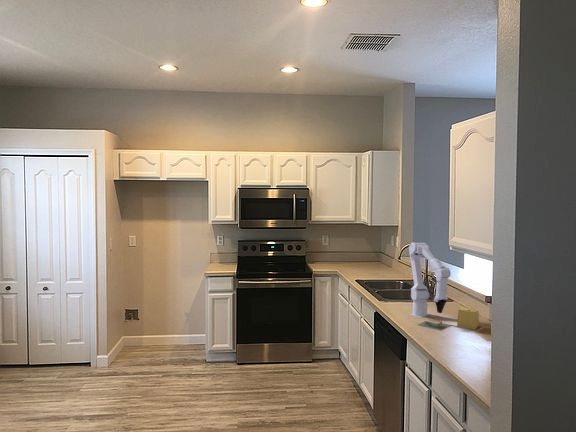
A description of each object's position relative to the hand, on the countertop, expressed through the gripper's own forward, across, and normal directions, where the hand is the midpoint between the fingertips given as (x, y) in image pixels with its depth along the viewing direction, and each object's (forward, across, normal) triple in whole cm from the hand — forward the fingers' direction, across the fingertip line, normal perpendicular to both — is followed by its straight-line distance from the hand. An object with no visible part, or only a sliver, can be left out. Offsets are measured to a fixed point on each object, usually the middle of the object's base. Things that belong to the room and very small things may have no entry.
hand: (439, 312), depth 271 cm
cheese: (+7, +8, -13) cm, 17 cm away
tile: (+5, -4, 0) cm, 7 cm away
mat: (+6, -6, 0) cm, 9 cm away
